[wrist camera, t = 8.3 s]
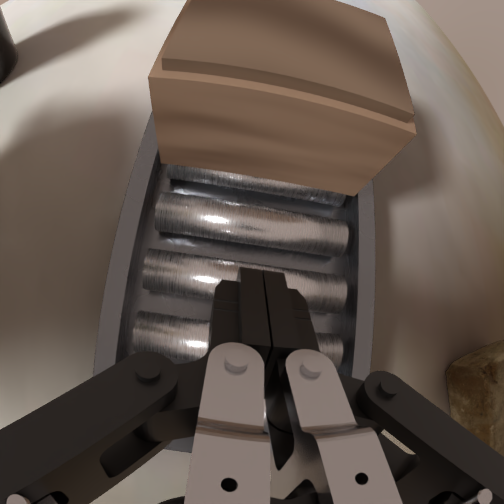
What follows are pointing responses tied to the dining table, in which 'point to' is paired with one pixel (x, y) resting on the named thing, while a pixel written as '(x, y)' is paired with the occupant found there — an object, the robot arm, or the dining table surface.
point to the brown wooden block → (281, 92)
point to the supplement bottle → (6, 49)
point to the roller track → (201, 308)
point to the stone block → (479, 394)
